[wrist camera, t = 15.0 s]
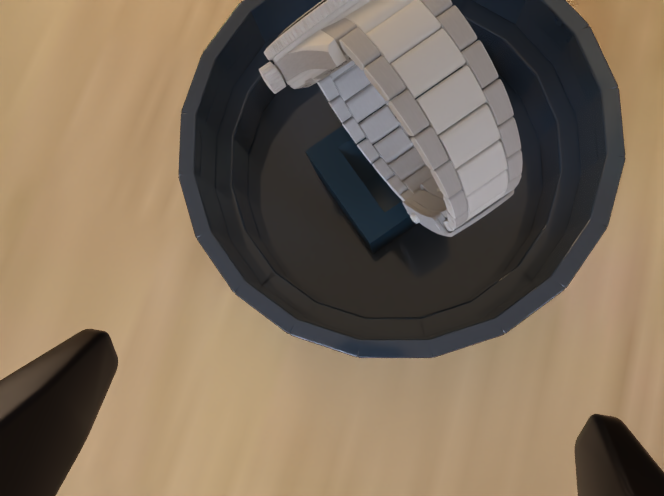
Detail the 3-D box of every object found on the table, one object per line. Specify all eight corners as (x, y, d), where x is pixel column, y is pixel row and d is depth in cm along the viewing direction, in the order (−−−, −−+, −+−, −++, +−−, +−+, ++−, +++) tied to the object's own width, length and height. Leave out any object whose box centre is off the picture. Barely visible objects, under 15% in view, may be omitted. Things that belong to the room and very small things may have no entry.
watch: (394, 69, 22) (399, -175, 11) (506, 213, 20) (639, 96, 9) (291, 141, 22) (195, -31, 11) (394, 289, 20) (401, 259, 10)
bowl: (355, 421, 20) (344, 454, 15) (164, 149, 23) (103, 104, 18) (646, 203, 20) (729, 167, 15) (420, -44, 23) (428, -142, 18)
